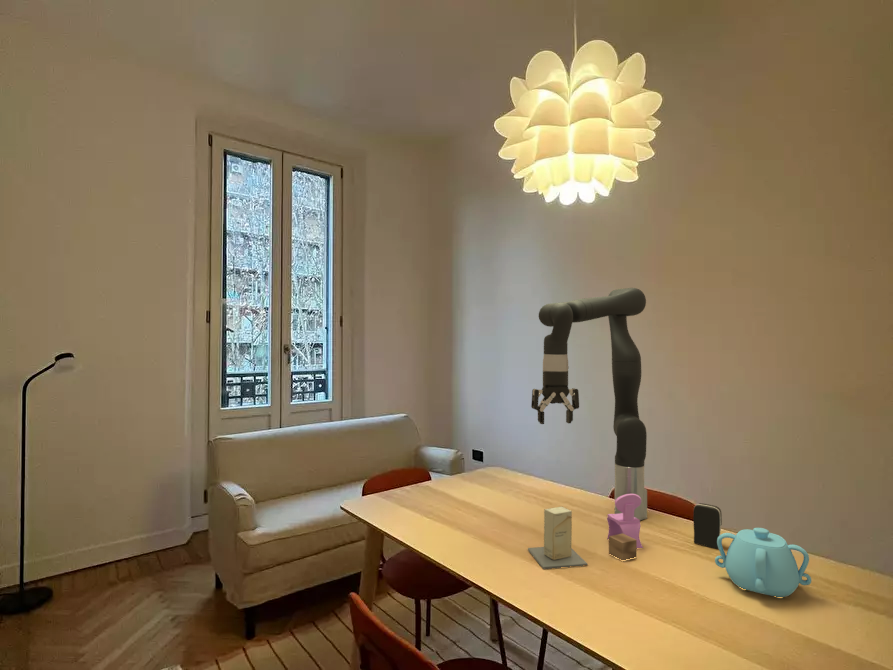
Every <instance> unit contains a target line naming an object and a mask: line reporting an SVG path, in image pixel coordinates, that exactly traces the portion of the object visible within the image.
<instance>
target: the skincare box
mask: <svg viewBox="0 0 893 670" xmlns="http://www.w3.org/2000/svg"><path fill="white" fill-rule="evenodd" d="M543 515H544V516H543V547H544V554H545V555H546V556H548V557H549V558H551V559H553V560H556V559H561V558H566V557H571V548H572V544H573V543H572V541H573V540H572V537H573V536H572V531H573V528H572V526H573V523H572V522H573V521H572V519H573V518H572V517H573V516H572V515H573V512H572V510H570V509H568V508H566V507H564V506H558V507H551V508H545V509H544V511H543Z"/></svg>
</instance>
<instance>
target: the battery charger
mask: <svg viewBox="0 0 893 670" xmlns="http://www.w3.org/2000/svg"><path fill="white" fill-rule="evenodd" d="M722 516H723V515H722V509H721V508H720V507H718V506H716V505H713V504H707V503H701V502H700V503H697V504H696V505H694V507H693V520H692V522H693V543H694V544H696V545H699V546H703V547H707V548H711V549H712V548H713V549H717V550H719V549H718V545H717V538H718V537H719V535H721V529H722V527H721V526H722V524H723V523H722V522H723V519H722Z"/></svg>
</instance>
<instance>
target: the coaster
mask: <svg viewBox="0 0 893 670" xmlns="http://www.w3.org/2000/svg"><path fill="white" fill-rule="evenodd" d="M527 552H528V553H529V554H530V555H531V556H532V557H533V559H534V560H535V561H536V563H538V565H539V566H540V567H541V568H542V569H543V570H552V568H555V569H562V568H561V567H568V568H571V567H570V566H581V567H584V566H583V565H588V562H587V561H586V560H585V559H583V557H581V555H580V554H578V553H577V551H575V550H574V549H573V548H572V547H571V557H566V558H561V559H556V560H553V559H551V558H549V557H548V556H546V555H545V554H544V546H536V547H527ZM588 566H589V565H588Z"/></svg>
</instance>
